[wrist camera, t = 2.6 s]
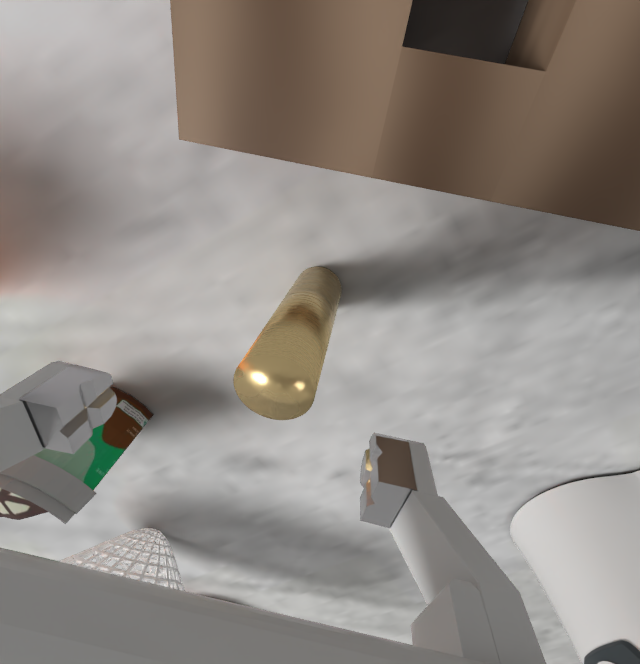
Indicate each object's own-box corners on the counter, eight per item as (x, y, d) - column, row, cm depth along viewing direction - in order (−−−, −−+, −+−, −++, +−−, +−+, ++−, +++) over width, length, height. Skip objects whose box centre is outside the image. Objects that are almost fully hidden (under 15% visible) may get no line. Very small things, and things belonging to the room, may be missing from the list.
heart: (255, 522, 35) (111, 958, 16) (255, 580, 43) (158, 918, 23) (40, 472, 37) (-315, 798, 18) (77, 535, 45) (-143, 810, 26)
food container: (123, 359, 25) (-8, 460, 17) (165, 412, 28) (71, 523, 19) (34, 388, 29) (-109, 482, 20) (78, 432, 32) (-33, 532, 23)
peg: (345, 272, 18) (321, 365, 10) (336, 314, 20) (307, 427, 11) (299, 261, 19) (234, 345, 10) (293, 304, 20) (232, 409, 11)
